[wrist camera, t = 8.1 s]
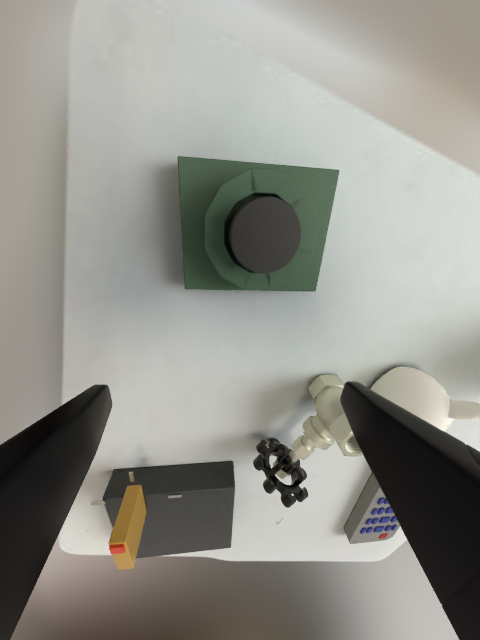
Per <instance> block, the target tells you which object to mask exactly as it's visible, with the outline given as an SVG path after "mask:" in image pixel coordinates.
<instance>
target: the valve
mask: <svg viewBox="0 0 480 640" xmlns="http://www.w3.org/2000/svg"><path fill="white" fill-rule="evenodd" d="M343 387H344V384H343V382H342V381H341V380H340V378H339V377H338V376H337V375H332V374H326V375H320V376H318V377H317V378H316V379H315V380H314V381H313V382H312V383H311V384H310V386H309V387H308V390H309V392H310V394H311V396H312V398H313V400H314V401H315V403H316V411H317V415H316V416H310V417H309V418H308V419H307V420H306V421H305V422H304V423H303V428H304V435H302V436H300V437H298V438H297V439H296V440H295V441H294V442H293V443H292V449H293V450H291V449H288V448H287V446H285V445H283V444H280V442H279V441H278V440H277V439H273V440H272V441H271V442H270V443H269V449H268V448H267V447H266V446H265V445H266V444H267V442H266V441H265V440H261V441H260V443H259V444H258V445H257V446H256V448H257V451H258V452H259V453H260V455H258V456H257V457H256V459H255V460H254V461H253V464H254V467H255V468H256V469H257V470H259V471H260V470H263V471H264V473H265V475H266V477H267V479H266V480H265V481H264V483H263V487H264V489H265V491H266V492H267V493H269V494H271V493H272V492H273V491H274V490H275V489H277V490H278V491H279V492H280V493H281V501H282V503H283V505H284V506H285V507H287V508H289V507H290V506H291V505H293V504H294V503H295V502H296V499H297V500H298V501H299V502H302V501H303V500H304V499H305V498H307V497H308V492H307V489H306V488H305V487H304V488H303V489H301V488H300V487H299V484H300V483H302V481H304V480H305V479H306V478H307V474H306V472H305V471H304V469H302V468H301V467H300V460H299V459H301V460H304V459H306V458H307V457H308V456H309V455H310V454H311V453H312V452H313V451H314V447H315V448H316V447H319V448H321V449H324V450H326V449H328V448H329V447H330V446H331V445H332V444H333V443H334V438H335V440H336V442H337V444H338V446H339V448H340V449H341V451H342V453H343V455H344V456H361V455H363V453H362V451H361V449H360V447H359V445H358V443H357V441H356V439H355V437H354V435H353V432H352V430H351V427H350V425H349V422H348V420H347V417H346V415H345V413H344V410H343V408H342V405H341V402H340V396H341V393H342V390H343ZM261 454H262V455H261ZM270 455H274V456H277V460H276V461H275V462H274V463H273V468H272V469H271V467H270V464H269V456H270ZM275 474H277V476H279V477H280V478H281V479H283V478H285V477H286V476H290V475H291V478H292V484H291V485H285V484H283V483H282V482H280V481H279V480H278V479H277V477H276V476H275ZM292 493H293V494H294V496H291V494H292Z"/></svg>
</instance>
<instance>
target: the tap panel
mask: <svg viewBox="0 0 480 640" xmlns="http://www.w3.org/2000/svg"><path fill="white" fill-rule="evenodd" d="M132 485H141V486H142V491H143V496H144V501H145V506H146V511H147V512H146V517H145V521H144V525H143V530H142V534H141V538H140V543H139V547H138V551H137V556H136V558H143V557H153V556H162V555H170V554H179V553H188V552H196V551H205V550H214V549H223V548H230V547H231V538H232V523H233V508H234V494H235V481H234V468H233V461H231V462H216V463H202V464H188V465H174V466H160V467H146V468H131V469H117V470H114V471H113V473H112V476H111V478H110V481H109V483H108V486H107V488H106V491H105V493H104V496H103V501H92V502H91V505H98V504H105V507H106V510H107V513H108V515H109V518H110V521H111V524H112V526H113V528H114V525H115V522H116V519H117V516H118V513H119V510H120V506H121V503H122V500H123V497H124V494H125V491H126V488H127V486H132Z"/></svg>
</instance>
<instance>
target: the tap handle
mask: <svg viewBox="0 0 480 640" xmlns="http://www.w3.org/2000/svg"><path fill="white" fill-rule="evenodd" d="M146 512H147V511H146V506H145V501H144V496H143V491H142V486H141V485H132V486H127V488H126V491H125V494H124V497H123V500H122V503H121V506H120V510H119V513H118V516H117V519H116V522H115V525H114V528H113V531H112V534H111V537H110V540H109V543H108V544H109V547H110V548H109V550H110V552H111V554H112V555H113V557H114V560H115V563H116V565H117V568H118V570H123V569H131V568H134V564H135V560H136V556H137V551H138V547H139V543H140V538H141V534H142V530H143V525H144V521H145V517H146Z"/></svg>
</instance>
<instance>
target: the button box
mask: <svg viewBox="0 0 480 640" xmlns="http://www.w3.org/2000/svg"><path fill="white" fill-rule="evenodd" d="M178 171H179V190H180V208H181V226H182V245H183V263H184V281H185V289H208V290H262V291H316V286H317V281H318V276H319V271H320V266H321V261H322V256H323V251H324V246H325V241H326V236H327V231H328V225H329V220H330V215H331V210H332V205H333V200H334V195H335V190H336V185H337V180H338V175H339V170H333V169H321V168H310V167H298V166H286V165H274V164H263V163H251V162H239V161H228V160H216V159H204V158H192V157H181V156H178ZM268 196H270V197H276V198H279V199H281V200H283V201H285V202H287V203H288V204H289V205H290V206H291V207H292V208H293V209H294V210H295V212H296V214H297V216H298V218H299V221H300V225H301V241H300V245H299V248H298V250H297V252H296V254H295V256H294V257H293V258H292V260H291V261H290V262H289V263H288V264H287V265H286V266H284V267H283V268H281V269H279V270H277V271H275V272H271V273H257V272H253V271H251V270H249V269H247V268H245V267H244V266H243V265H242V264H241V263H240V262H239V261H238V260H237V258H236V257H235V255H234V253H233V251H232V249H231V246H230V243H229V227H230V223H231V221H232V218H233V216H234V215H235V213H236V212H237V211H238V210H239V208H241V207H242V206H243V205H244V204H246V203H248V202H250V201H252V200H254V199H256V198H260V197H268Z"/></svg>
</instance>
